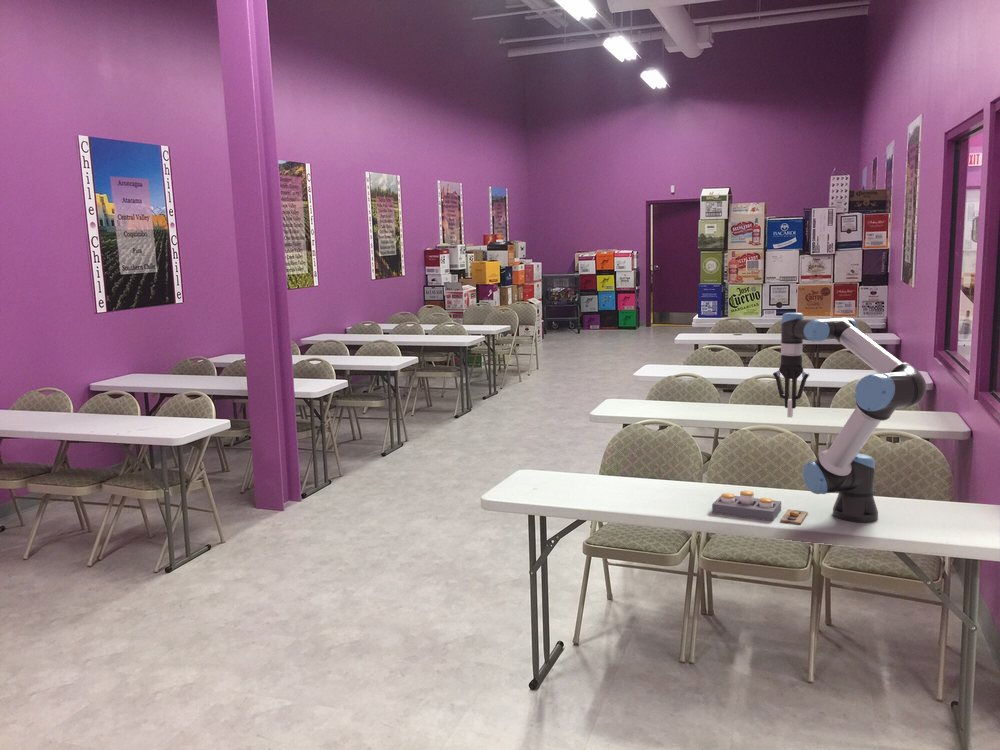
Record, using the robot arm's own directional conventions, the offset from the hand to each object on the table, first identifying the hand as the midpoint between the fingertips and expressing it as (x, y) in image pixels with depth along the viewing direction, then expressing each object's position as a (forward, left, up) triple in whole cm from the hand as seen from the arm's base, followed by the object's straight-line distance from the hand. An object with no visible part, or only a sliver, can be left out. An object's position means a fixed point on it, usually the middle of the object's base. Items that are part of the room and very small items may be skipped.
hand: (790, 416), depth 306 cm
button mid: (+12, +15, -31) cm, 37 cm away
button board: (+12, +15, -34) cm, 39 cm away
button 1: (+19, +15, -33) cm, 41 cm away
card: (-5, +15, -34) cm, 38 cm away
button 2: (+5, +15, -33) cm, 37 cm away
